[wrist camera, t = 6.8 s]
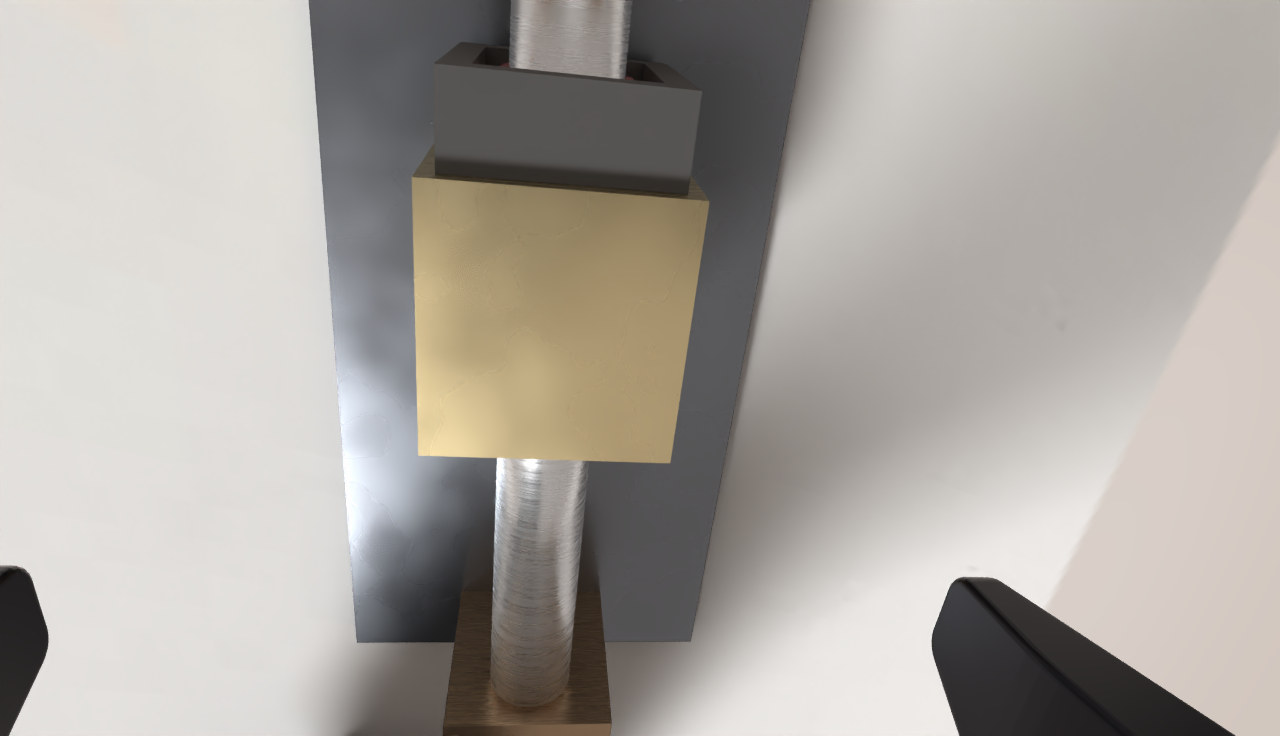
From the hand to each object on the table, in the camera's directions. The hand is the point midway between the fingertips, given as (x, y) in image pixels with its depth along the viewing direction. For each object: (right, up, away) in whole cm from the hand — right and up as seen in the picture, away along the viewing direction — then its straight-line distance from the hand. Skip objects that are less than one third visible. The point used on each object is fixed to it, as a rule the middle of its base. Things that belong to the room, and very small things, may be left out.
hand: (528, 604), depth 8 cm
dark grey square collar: (0, +8, +8) cm, 11 cm away
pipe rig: (-1, +4, +11) cm, 12 cm away
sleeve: (-1, +5, +9) cm, 11 cm away
